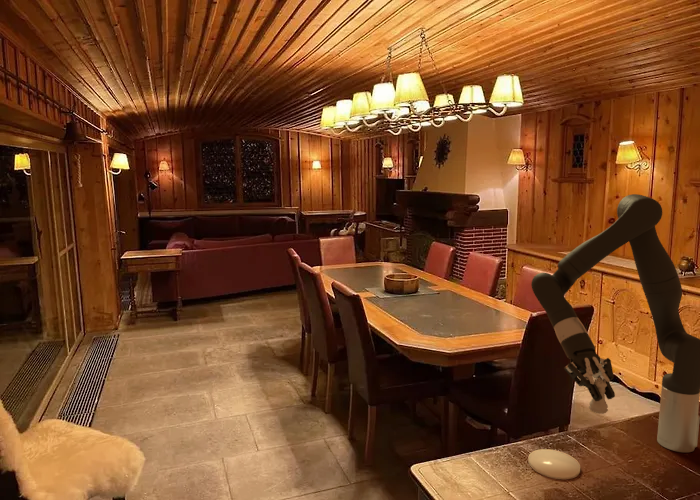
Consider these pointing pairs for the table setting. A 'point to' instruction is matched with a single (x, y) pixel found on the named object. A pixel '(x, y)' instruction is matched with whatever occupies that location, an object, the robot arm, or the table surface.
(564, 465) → the cream plate
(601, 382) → the rook chess piece
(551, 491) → the table surface
